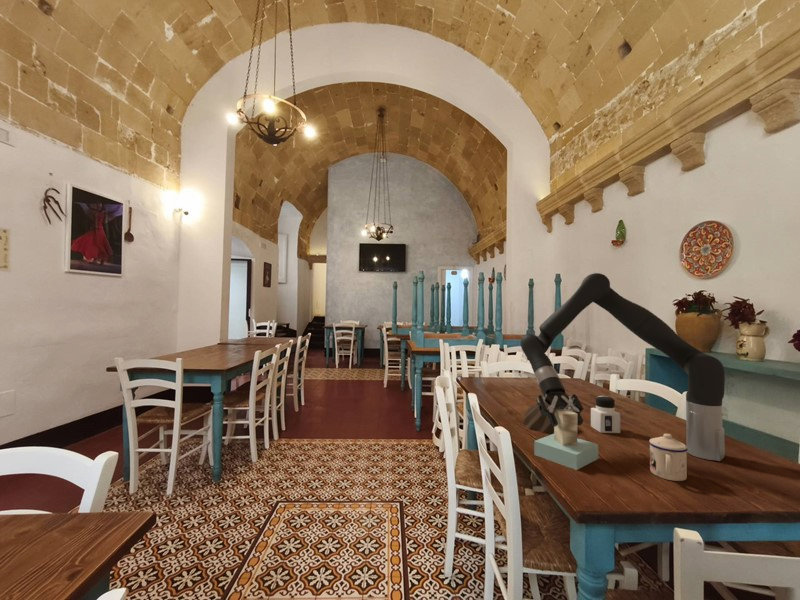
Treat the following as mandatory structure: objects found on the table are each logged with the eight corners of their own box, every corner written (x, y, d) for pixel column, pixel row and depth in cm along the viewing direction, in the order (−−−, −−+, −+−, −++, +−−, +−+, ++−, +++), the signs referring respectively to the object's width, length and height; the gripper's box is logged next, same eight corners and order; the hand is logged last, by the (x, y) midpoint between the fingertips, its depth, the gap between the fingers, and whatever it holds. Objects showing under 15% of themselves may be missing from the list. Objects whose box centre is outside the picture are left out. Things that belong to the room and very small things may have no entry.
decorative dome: (516, 428, 148) (516, 403, 148) (531, 416, 164) (531, 394, 164) (568, 438, 136) (568, 411, 136) (578, 424, 152) (578, 400, 153)
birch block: (568, 439, 122) (568, 409, 122) (577, 445, 117) (577, 413, 117) (554, 439, 121) (554, 409, 121) (562, 445, 116) (562, 414, 116)
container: (620, 433, 142) (620, 399, 142) (600, 433, 142) (600, 399, 142) (609, 426, 149) (609, 394, 149) (590, 426, 149) (590, 394, 150)
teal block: (598, 459, 118) (598, 444, 118) (576, 471, 109) (576, 454, 109) (557, 446, 129) (557, 432, 129) (534, 456, 120) (534, 440, 120)
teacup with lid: (649, 465, 113) (649, 427, 113) (686, 473, 108) (686, 433, 108) (648, 480, 103) (648, 438, 103) (689, 489, 98) (689, 445, 98)
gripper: (533, 376, 126) (552, 420, 114) (572, 375, 128) (594, 418, 116) (526, 388, 131) (543, 431, 119) (563, 387, 133) (583, 429, 121)
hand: (568, 424), depth 118 cm, fingers open, 8 cm apart
